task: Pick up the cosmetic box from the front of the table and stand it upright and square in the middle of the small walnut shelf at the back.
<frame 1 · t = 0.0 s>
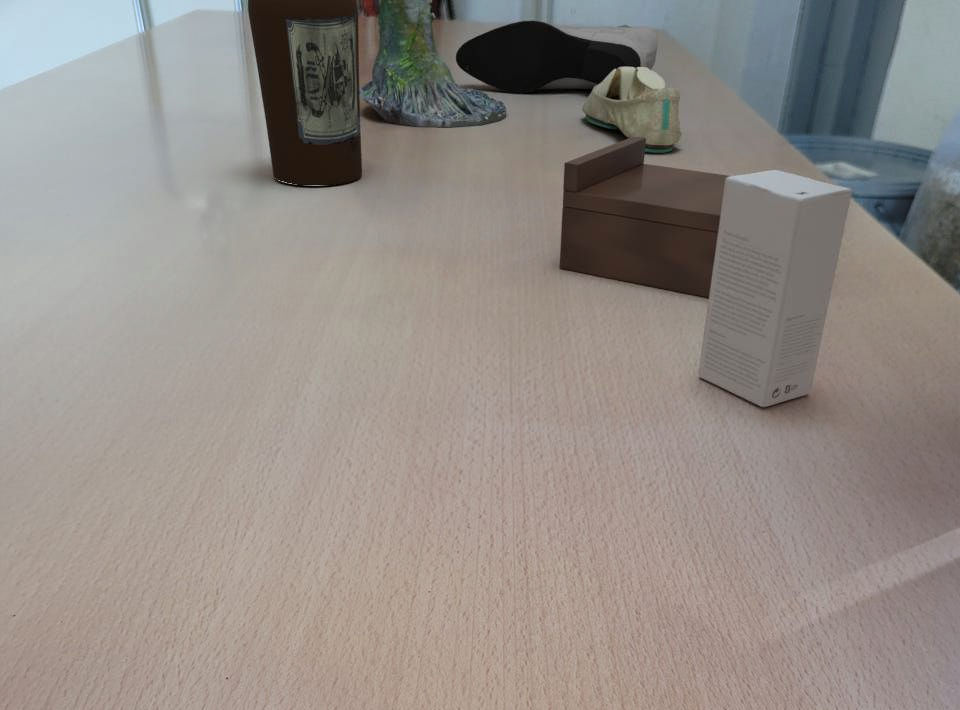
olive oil: (318, 178, 107), on the table
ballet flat: (632, 135, 125), on the table
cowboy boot: (563, 84, 157), on the table
shelf: (679, 266, 82), on the table
tree stump: (430, 115, 136), on the table
cosmetic box: (751, 388, 63), on the table
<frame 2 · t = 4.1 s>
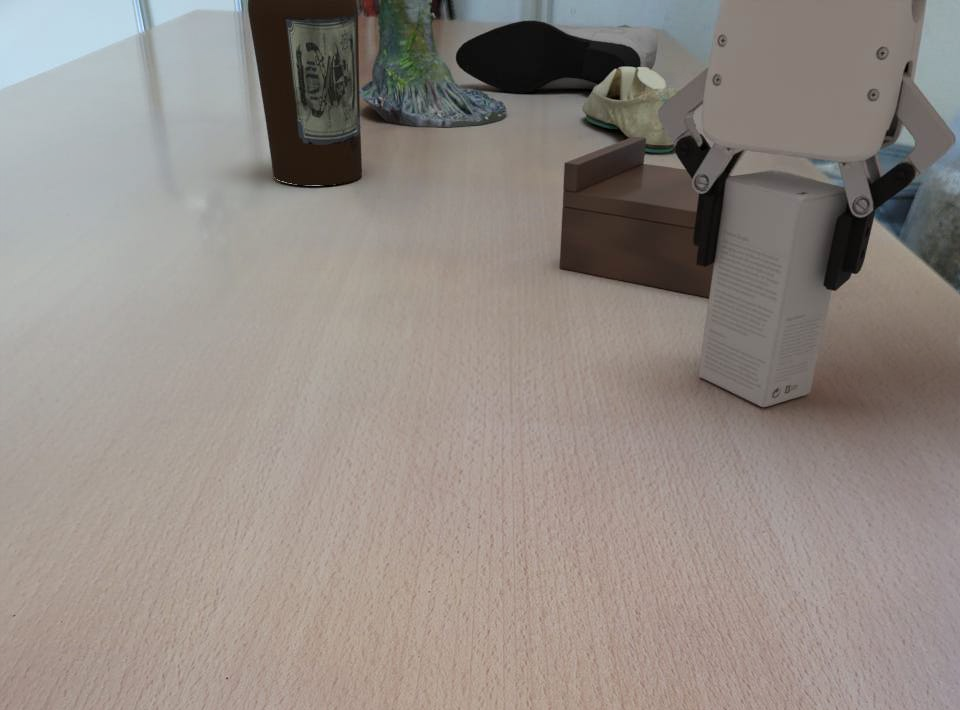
hand: (772, 269, 59), 7 cm above the table, tool pointing down, fingers closed on cosmetic box, 7 cm apart
cosmetic box: (751, 388, 63), on the table, touching gripper
everything else where it was.
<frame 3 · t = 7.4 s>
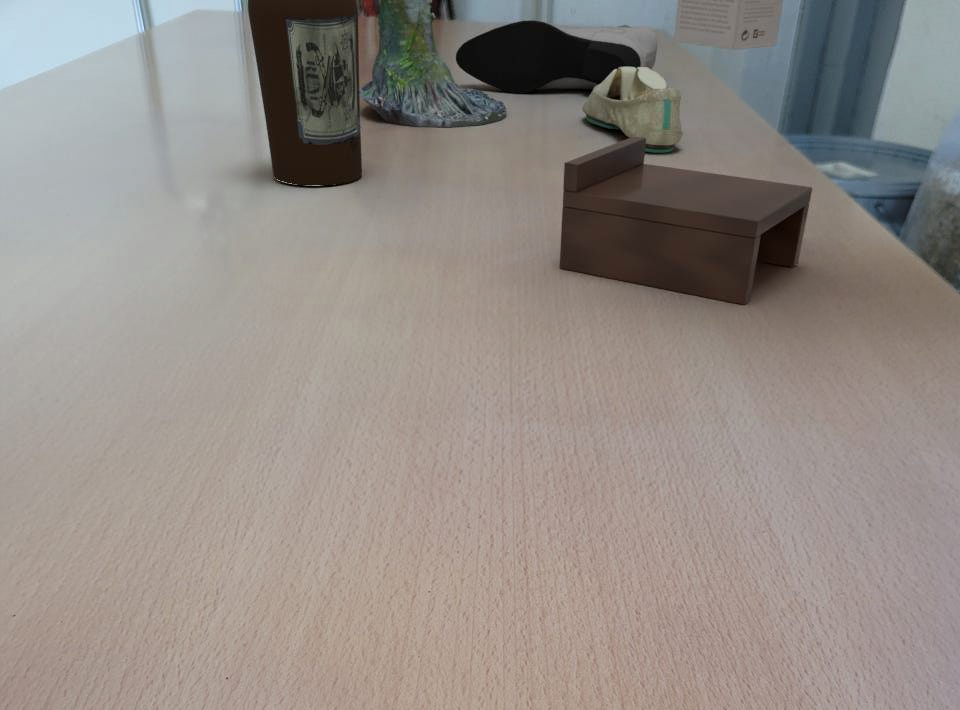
cosmetic box: (723, 47, 69), point 16 cm above the table, touching gripper
everything else where it was.
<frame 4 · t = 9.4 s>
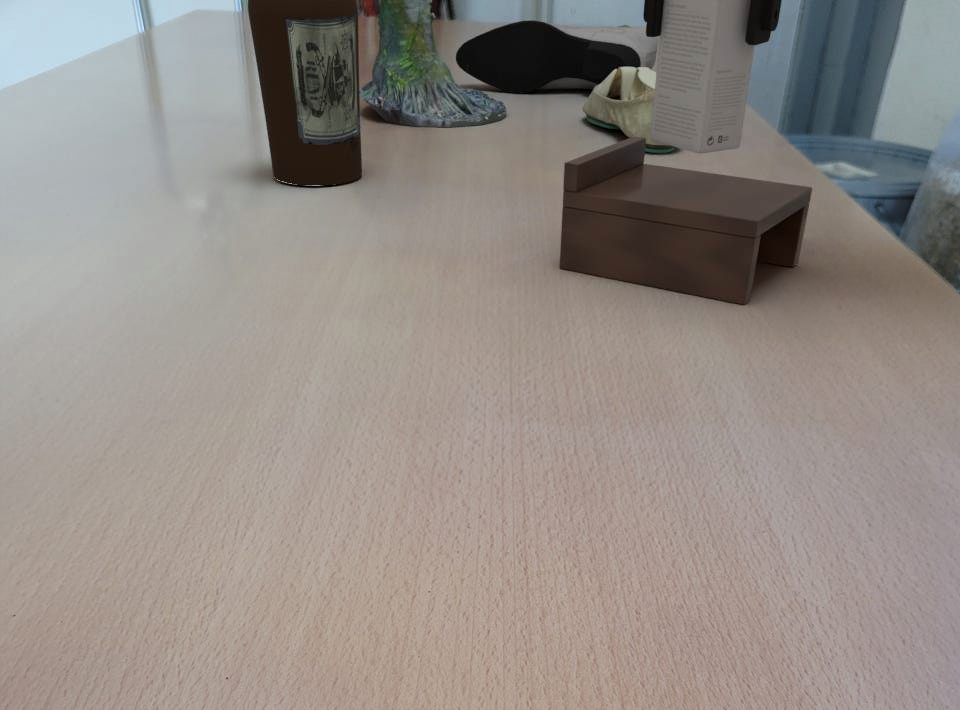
hand: (707, 36, 73), 16 cm above the table, tool pointing down, fingers closed on cosmetic box, 7 cm apart
cosmetic box: (693, 147, 77), point 9 cm above the table, touching gripper
everything else where it was.
when the fingers open (13 cm above the table, at t = 10.8 s): cosmetic box stays where it is, resting on shelf.
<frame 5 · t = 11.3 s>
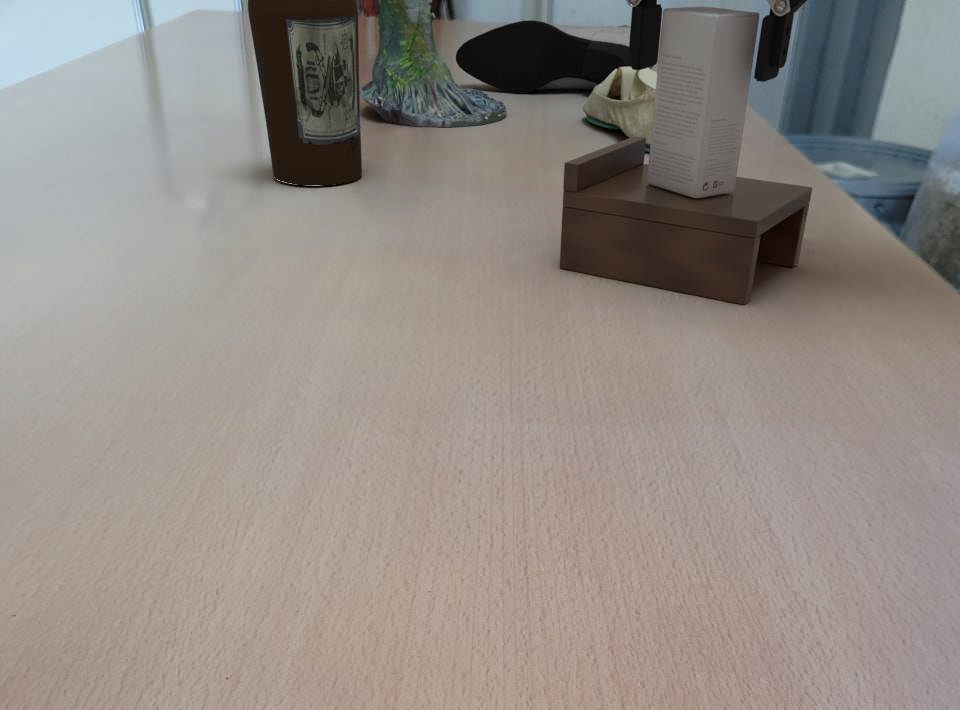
hand: (703, 73, 74), 14 cm above the table, tool pointing down, fingers open, 9 cm apart
cosmetic box: (689, 191, 79), point 6 cm above the table, touching shelf
everything else where it was.
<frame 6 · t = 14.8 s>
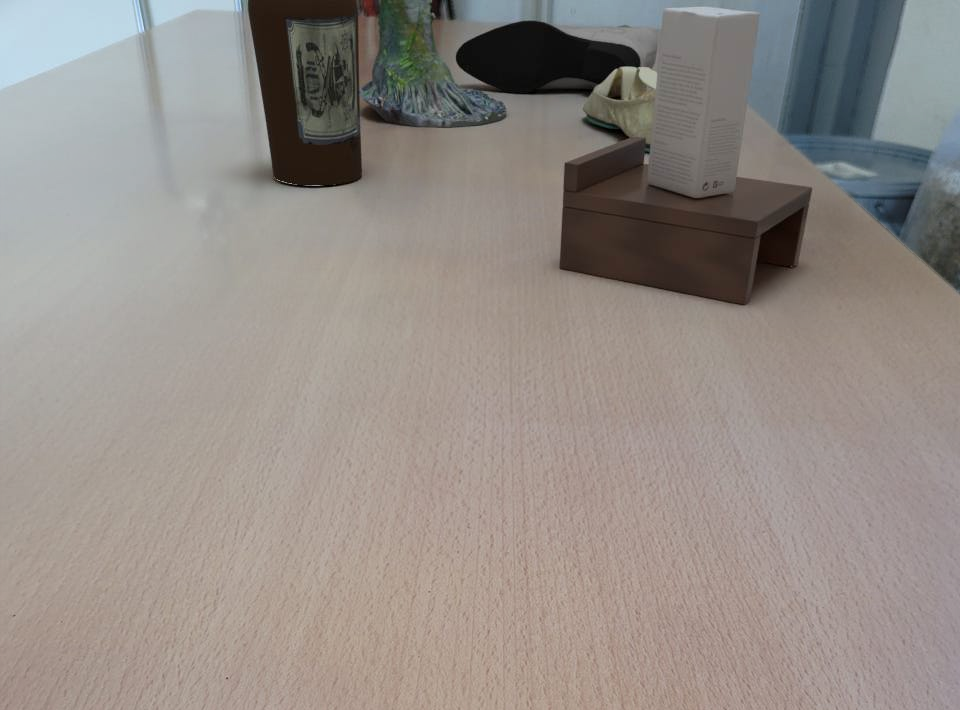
nothing on the table moved.
at the end: cosmetic box 0.0 cm off-centre on the shelf, point 5.8 cm above the shelf's base; cosmetic box tilted 0° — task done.
